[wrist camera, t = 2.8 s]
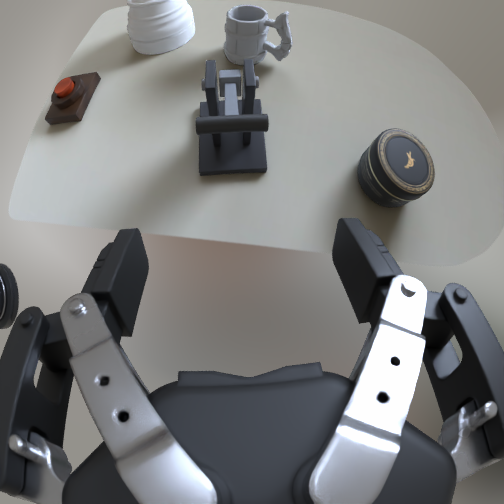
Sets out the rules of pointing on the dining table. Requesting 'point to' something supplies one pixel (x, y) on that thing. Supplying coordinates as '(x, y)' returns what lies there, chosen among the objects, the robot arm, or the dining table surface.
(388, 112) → the dining table surface
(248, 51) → the mug
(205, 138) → the dark stand
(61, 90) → the button
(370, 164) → the jar
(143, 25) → the honey pot
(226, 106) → the switch lever
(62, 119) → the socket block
